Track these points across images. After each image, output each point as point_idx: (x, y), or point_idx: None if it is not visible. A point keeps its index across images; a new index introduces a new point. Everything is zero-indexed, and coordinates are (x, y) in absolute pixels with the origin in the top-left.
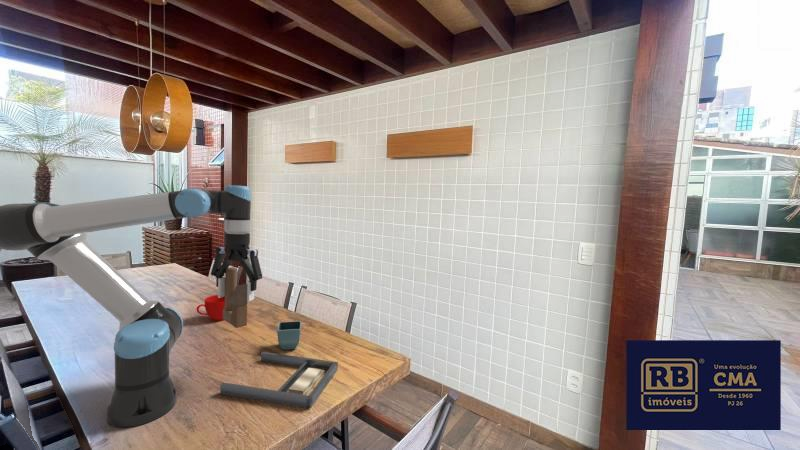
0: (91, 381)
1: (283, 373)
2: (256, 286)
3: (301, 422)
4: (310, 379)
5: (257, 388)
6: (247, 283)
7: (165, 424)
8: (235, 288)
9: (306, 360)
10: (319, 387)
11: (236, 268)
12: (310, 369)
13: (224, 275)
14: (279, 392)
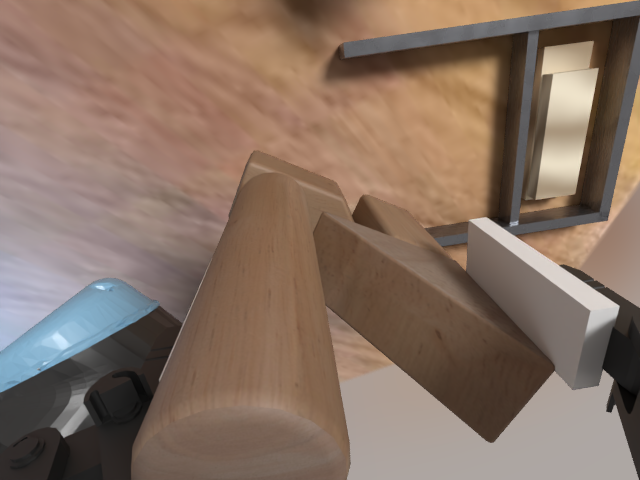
0: (30, 326)
1: (457, 100)
2: (597, 281)
3: (580, 253)
4: (579, 137)
5: (462, 236)
6: (558, 373)
7: (337, 346)
8: (453, 409)
9: (532, 30)
10: (617, 168)
11: (334, 445)
12: (563, 83)
13: (146, 382)
14: (524, 228)
